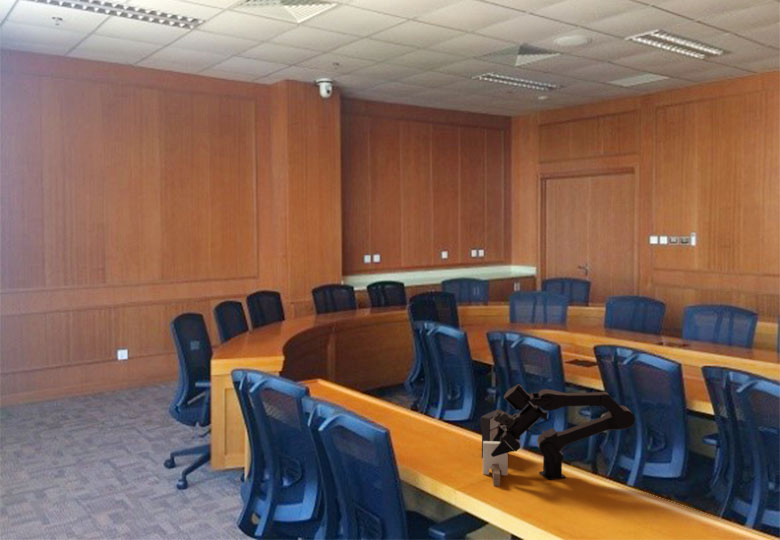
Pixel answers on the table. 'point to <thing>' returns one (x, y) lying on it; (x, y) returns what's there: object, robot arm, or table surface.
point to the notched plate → (493, 458)
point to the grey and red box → (488, 427)
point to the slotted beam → (496, 474)
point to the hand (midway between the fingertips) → (491, 451)
